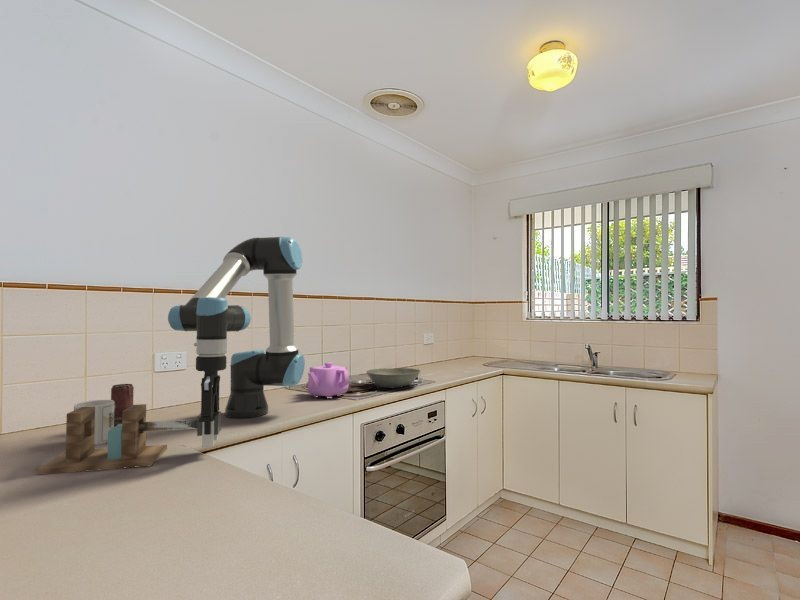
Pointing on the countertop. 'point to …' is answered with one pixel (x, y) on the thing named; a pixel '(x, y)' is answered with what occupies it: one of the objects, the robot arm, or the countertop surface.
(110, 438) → the block
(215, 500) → the countertop surface
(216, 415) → the shaft
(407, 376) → the bowl
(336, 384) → the teapot
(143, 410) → the block
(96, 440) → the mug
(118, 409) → the can
